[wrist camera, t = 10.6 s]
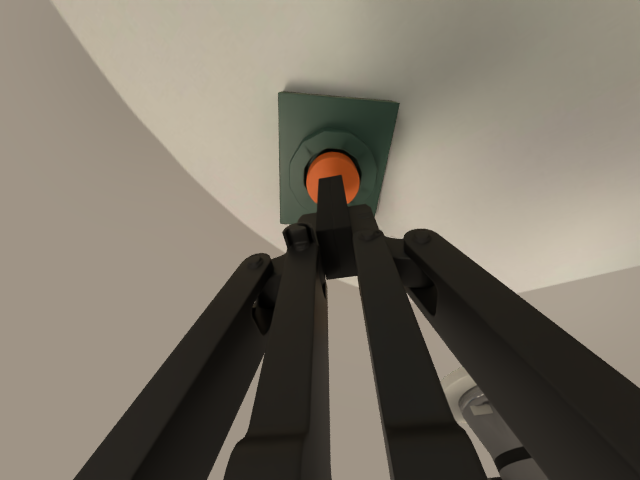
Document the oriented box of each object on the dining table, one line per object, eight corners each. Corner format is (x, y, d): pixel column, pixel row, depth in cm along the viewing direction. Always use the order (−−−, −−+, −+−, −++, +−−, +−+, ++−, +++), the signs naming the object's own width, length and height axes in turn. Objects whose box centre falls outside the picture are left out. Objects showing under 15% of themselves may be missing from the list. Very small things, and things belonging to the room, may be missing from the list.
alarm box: (368, 219, 26) (374, 240, 23) (283, 213, 26) (277, 233, 22) (393, 100, 20) (406, 104, 17) (282, 91, 20) (273, 93, 16)
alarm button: (353, 201, 21) (355, 210, 19) (306, 198, 21) (305, 207, 19) (360, 153, 19) (364, 159, 17) (308, 149, 19) (307, 155, 17)
